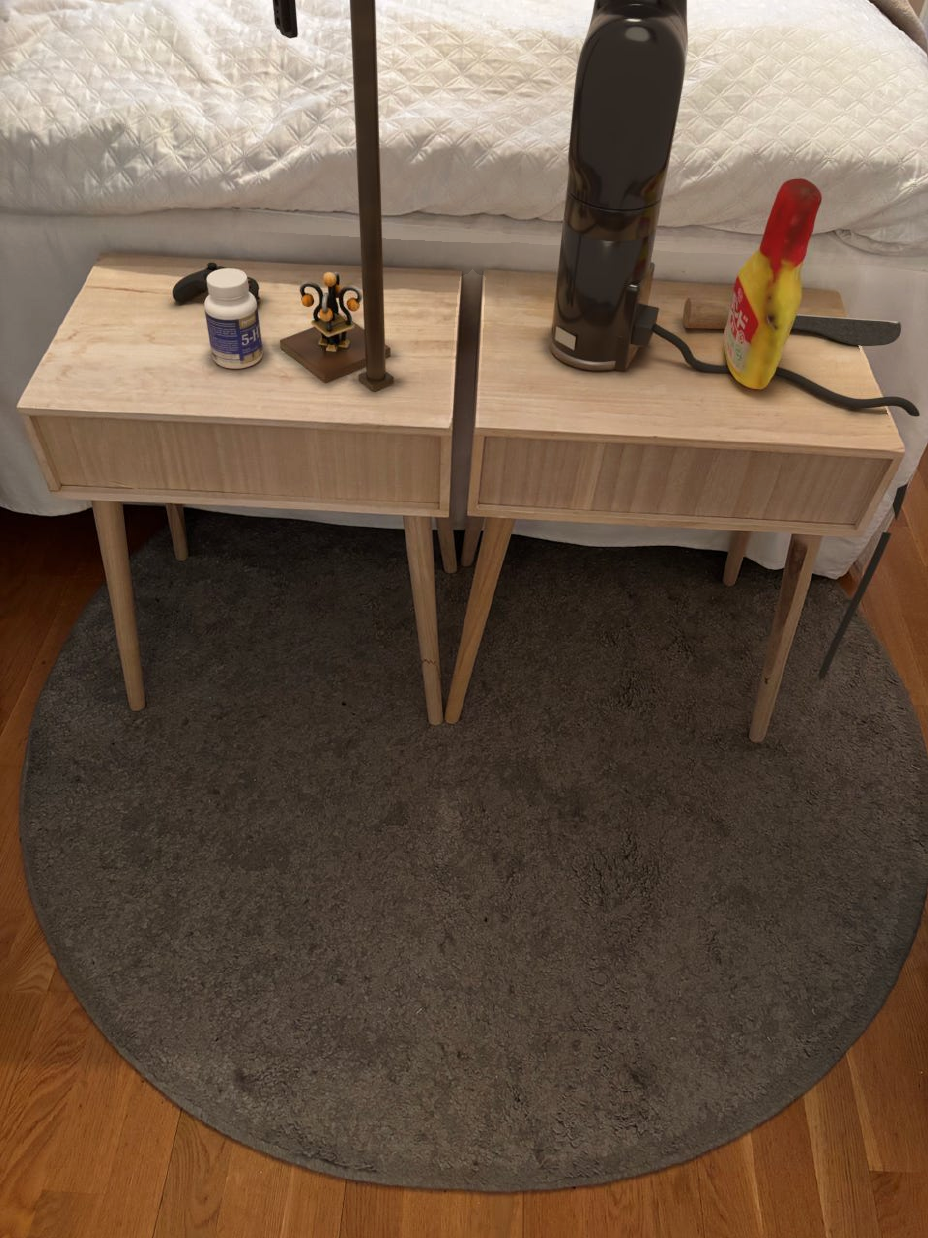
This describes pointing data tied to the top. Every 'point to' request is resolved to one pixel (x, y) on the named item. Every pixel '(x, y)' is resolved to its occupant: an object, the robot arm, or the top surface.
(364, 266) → the display stand
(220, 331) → the pill bottle
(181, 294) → the game controller
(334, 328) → the decorative sculpture
